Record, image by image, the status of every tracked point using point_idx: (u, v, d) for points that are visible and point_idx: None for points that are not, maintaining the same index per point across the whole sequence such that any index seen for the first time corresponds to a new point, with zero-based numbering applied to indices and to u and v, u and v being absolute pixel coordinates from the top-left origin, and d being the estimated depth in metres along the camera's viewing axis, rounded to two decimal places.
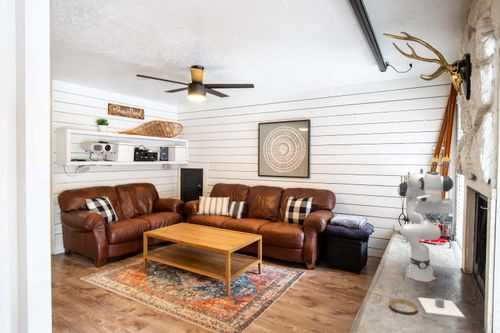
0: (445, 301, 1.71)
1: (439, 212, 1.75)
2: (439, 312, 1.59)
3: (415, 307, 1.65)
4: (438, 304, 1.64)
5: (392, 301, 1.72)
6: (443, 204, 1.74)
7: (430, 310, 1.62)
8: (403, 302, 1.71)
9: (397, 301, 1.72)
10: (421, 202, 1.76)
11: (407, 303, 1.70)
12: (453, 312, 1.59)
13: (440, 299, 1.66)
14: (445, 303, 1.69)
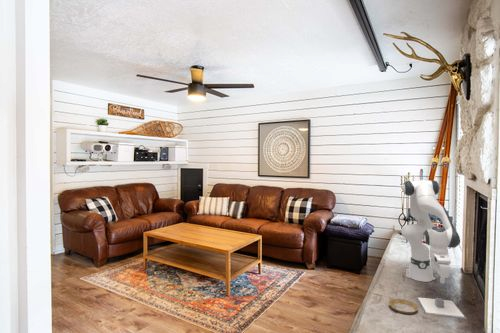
0: (445, 301, 1.71)
1: None
2: (439, 312, 1.59)
3: (415, 307, 1.65)
4: (438, 304, 1.64)
5: (392, 301, 1.72)
6: None
7: (430, 310, 1.62)
8: (403, 302, 1.71)
9: (397, 301, 1.72)
10: None
11: (407, 303, 1.70)
12: (453, 312, 1.59)
13: (440, 299, 1.66)
14: (445, 303, 1.69)
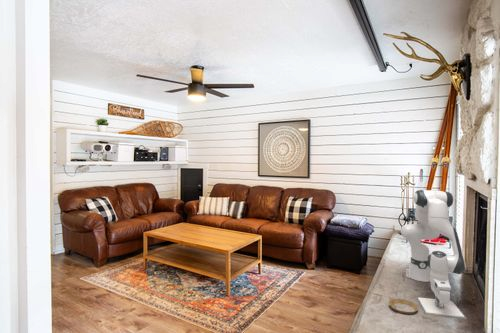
0: None
1: None
2: (439, 312, 1.59)
3: (415, 307, 1.65)
4: (438, 304, 1.64)
5: (392, 301, 1.72)
6: None
7: (430, 310, 1.62)
8: (403, 302, 1.71)
9: (397, 301, 1.72)
10: None
11: (407, 303, 1.70)
12: (453, 312, 1.59)
13: None
14: None
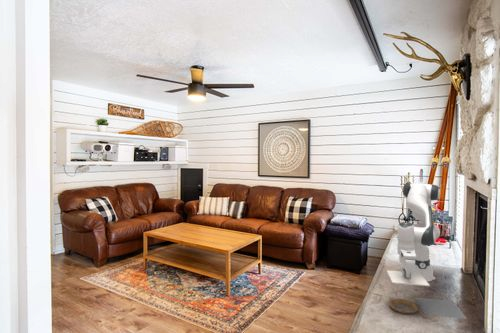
0: (413, 273, 1.70)
1: None
2: (405, 282, 1.58)
3: (415, 307, 1.65)
4: (405, 275, 1.64)
5: (392, 301, 1.72)
6: None
7: (397, 280, 1.61)
8: (403, 302, 1.71)
9: (397, 301, 1.72)
10: None
11: (407, 303, 1.70)
12: (419, 282, 1.58)
13: None
14: (413, 275, 1.68)
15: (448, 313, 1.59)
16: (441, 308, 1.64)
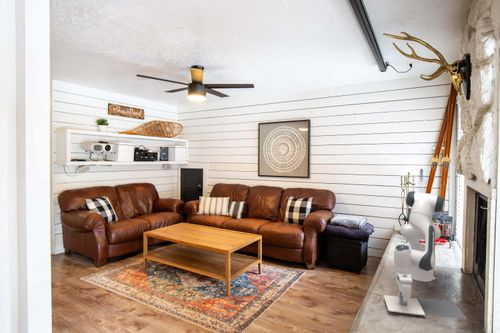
0: (410, 299, 1.71)
1: None
2: (401, 310, 1.59)
3: None
4: (401, 302, 1.64)
5: None
6: None
7: (393, 307, 1.62)
8: None
9: None
10: None
11: None
12: (415, 310, 1.59)
13: None
14: (409, 301, 1.69)
15: (448, 313, 1.59)
16: (441, 308, 1.64)
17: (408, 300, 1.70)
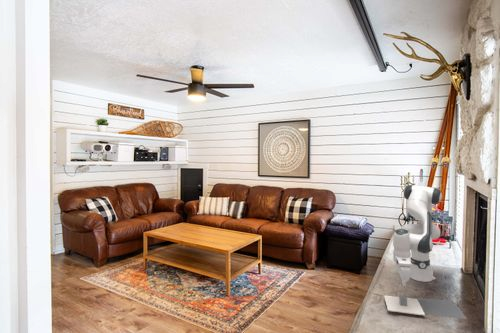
0: (410, 299, 1.71)
1: None
2: (401, 310, 1.59)
3: None
4: (401, 302, 1.64)
5: None
6: None
7: (393, 307, 1.62)
8: None
9: None
10: None
11: None
12: (415, 310, 1.59)
13: (404, 297, 1.66)
14: (410, 301, 1.69)
15: (448, 313, 1.59)
16: (441, 308, 1.64)
17: (408, 300, 1.70)
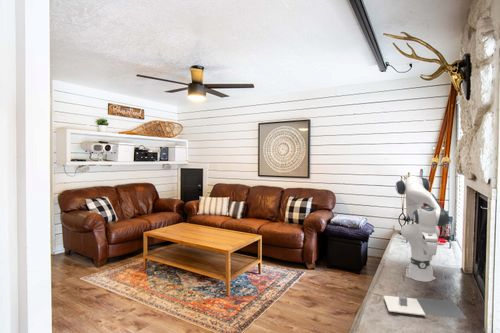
0: (410, 299, 1.71)
1: None
2: (401, 310, 1.59)
3: None
4: (401, 302, 1.64)
5: None
6: None
7: (393, 308, 1.62)
8: None
9: None
10: None
11: None
12: (415, 310, 1.59)
13: (404, 297, 1.66)
14: (409, 301, 1.69)
15: (448, 313, 1.59)
16: (441, 308, 1.64)
17: (408, 300, 1.70)
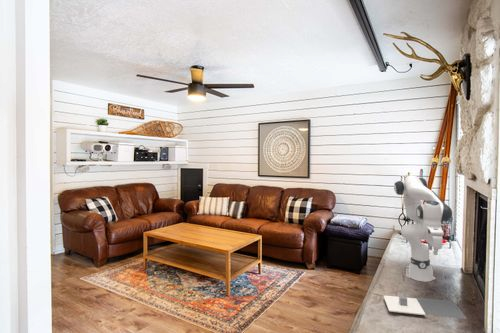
0: (410, 299, 1.71)
1: None
2: (401, 310, 1.59)
3: None
4: (401, 302, 1.64)
5: None
6: None
7: (393, 308, 1.62)
8: None
9: None
10: None
11: None
12: (415, 310, 1.59)
13: (404, 297, 1.66)
14: (409, 301, 1.69)
15: (448, 313, 1.59)
16: (441, 308, 1.64)
17: (408, 300, 1.70)
